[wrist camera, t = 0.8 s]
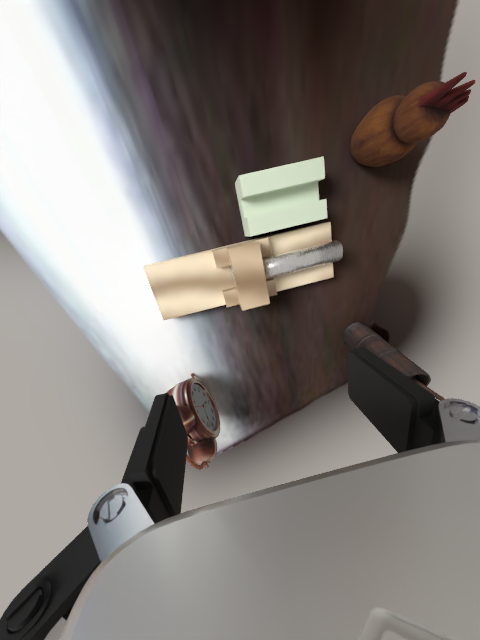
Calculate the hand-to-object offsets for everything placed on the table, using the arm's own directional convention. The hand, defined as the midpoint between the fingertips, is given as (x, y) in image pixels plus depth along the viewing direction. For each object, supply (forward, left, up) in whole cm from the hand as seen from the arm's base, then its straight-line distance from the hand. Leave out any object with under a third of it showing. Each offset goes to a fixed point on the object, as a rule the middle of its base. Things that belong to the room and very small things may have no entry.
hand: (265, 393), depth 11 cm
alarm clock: (+18, -11, -27) cm, 34 cm away
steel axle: (-2, +9, -25) cm, 26 cm away
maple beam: (-2, +3, -27) cm, 27 cm away
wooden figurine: (-15, +24, -27) cm, 39 cm away
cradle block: (-10, +10, -27) cm, 31 cm away
